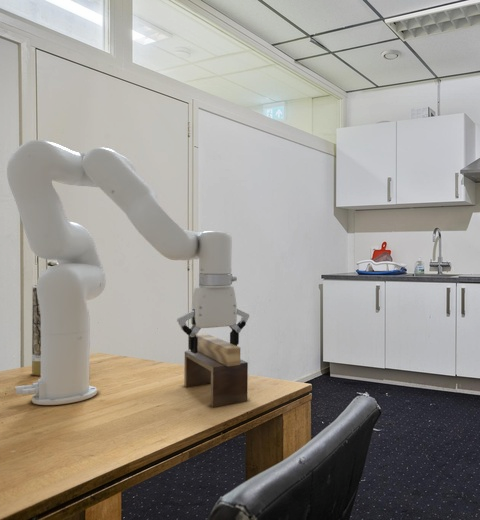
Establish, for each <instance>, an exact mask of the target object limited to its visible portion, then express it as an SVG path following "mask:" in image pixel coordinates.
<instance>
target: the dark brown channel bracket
mask: <svg viewBox="0 0 480 520" xmlns="http://www.w3.org/2000/svg"><path fill="white" fill-rule="evenodd" d="M183 368H184V371H183V373H184V375H183V377H184V379H183V381H184V383H183V384H184V386H185V388H188V387H189V388H190V387H195V386H200V385H206V384H207V385H208V384H210V406H211V407H212V408H217V407H221V406H228V405H232V404H238V403H242V402H247V401H248V382H249V381H248V377H249V375H248V374H249V373H248V371H249V362H248V361H245V360H243V359H241V358H240V365H234V366H226V365H224V364H222V363H220V362H218V361H216V360H214V359H212V358H210V357H208V356H207V355H205V354H203V353H201V352H199V351H198V352H197V353H195V354H194V353H192V352H191V350H184V367H183Z"/></svg>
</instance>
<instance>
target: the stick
mask: <svg viewBox="0 0 480 520" xmlns="http://www.w3.org/2000/svg"><path fill="white" fill-rule="evenodd" d="M196 337H198V351H199V352H201V353H203V354H205V355H207V356H208V357H210V358H212V359H214V360H216V361H218V362H220V363H222V364H224V365H226V366H234V365H240V359H241V347H240V346H238V345H237V346H236V345H233V344H231V343H230V342H228V341H225V340H223V339H221V338H218V337H216V336H214V335H211V334H208V333H205V332H204V333H197V334H196Z"/></svg>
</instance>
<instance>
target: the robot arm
mask: <svg viewBox="0 0 480 520" xmlns="http://www.w3.org/2000/svg"><path fill="white" fill-rule="evenodd" d="M6 166H7V167H6V178H7V182H8V186H9V189H10V191H11V193H12V194H11V195H12V197H13V199H14V201H15V204H16V207H17V210H18V214H19V217H20V221H21V223H22V226H23V229H24V232H25V236H26V239H27V242H28V244H29V247H30V250H31V251H32V252H33V254H34V255H35V256H37V257H38V258H41V259H44V260H48V261H49V260H50V261H51V260H55V261H57V264H55V265H52V266H49V267H48V268H46V269H45V270H43V272H42V273H41V274H40V275H39V277H38V279H37V281H36V285H37V297H38V302H39V307H40V317H41V376H40V378H38V379H37V382H32V384H28V385H18V386H14V387H15V389H14V390H15V392H14V393H15V394H14V395H15V396H18V395H19V396H20V395H21V396H22V397H24V396H28V395H29V396H30V395H32V396H31V402H32V404H34V405H39V406H57V405H58V406H59V405H67V404H73V403H77V402H82V401H86V400H88V399H91V398H93V397H95V396H97V394H98V388H97V387H96V386H93V385H90V367H91V366H90V365H91V364H90V363H91V362H90V358H91V357H90V356H91V355H90V353H91V352H90V350H91V349H90V348H91V345H90V344H91V341H90V340H91V323H90V322H91V319H90V312H89V308H88V304H87V301H90V300H93V299H95V298H97V297H99V296H100V295H101V294H103V291H104V290H105V287H106V284H107V283H106V282H107V279H106V273H105V270H104V267H103V264H102V260H101V258H100V255H99V251H98V248H97V245H96V243H95V240H94V238H93V235H91V233H90V231H89V230H88V229H87V228H86V227H85V226H84V225H81V224H79V223H77V222H73V221H69V219H68V217H67V214H66V212H65V209H64V204H63V201H62V199H61V197H60V195H59V194H58V192H57V190H56V188H55V187H54V185H53V182H56V183H60V184H64V185H68V186H76V187H77V186H78V187H88V188H89V187H90V188H99V189H100V190H101V191H102V192H103V193H104V194H105V195H106V196H107V197H108V198H109V199H110V200H111V201H112V202H113V203H114V204H115V205H116V206H117V207H118V208H119V209H120V210H121V211H122V212H123V213H124V214H125V215H126V217H127V218H128V219H127V220H129V222H130V223H131V224H132V225H133V227H134V228H135V229H136V231H137V232H138V233H139V234H140V235H141V236H142V238H144V239H145V240H146V242H147V243H149V245H151V246H152V247H153V248H154V249H155V250H156V251H157V252H158V253H159V254H160V255H161V256H163V257H164V258H165V259H168V260H171V261H193V260H198V286H195V287H194V290H193V294H192V302H191V310H190V311H189V312H187V313H184V314H183V315H181V316H180V317H178V318H177V319H176V322H177V324H178V325H179V327H180V330H181V331H183V333H185V334H186V335H187V336H188V351H191V352H192V353H194V354H195V353H197V352H198V337H196V334H199V332H200V330H201V329H211V328H212V329H214V328H224V327H225V328H226V327H229V328H230V330H231V331H230V332H229V343H231V344H233V345H236V346H238V345H239V344H240V341H239V340H240V333H241V331H242V329H244V327H246V325H247V322H248V321H249V318H250V314H249V313H247V312H245V311H242V310H241V309H238V308H237V296H236V292H235V287H234V285H233V283H235V282H237V279H238V278H237V276H236V275H233V273H232V257H233V256H232V255H233V254H232V253H233V252H232V251H233V249H232V247H233V244H232V243H233V237H232V235H231V233H230V232H227V231H222V230H206V231H202V232H201V231H193V230H189V229H184V228H182V227H181V226H180V224H178V222H176V220H174V219H173V218H172V217H171V216H170V215H169V214H168V213H167V212H166V211H165V209H164V208H163V207H162V206H161V204H160V203H159V200H158V194H157V192H156V191H155V189H154V188H153V187H151V185H149V184H148V183H147V181H146V180H145V179H143V177H141V175H139V173H137V171H136V167H135V165H134V164H133V162H132V161H131V160H130V159H129V158H128V157H126V156H124V155H123V154H121V153H118V152H117V151H115V150H113V149H111V148H106V147H96V148H92V149H90V150H88V151H87V152H86V153H85V152H77V151H75V150H71V149H69V148H67V147H64V146H62V145H60V144H58V143H55V142H52V141H49V140H44V139H43V140H42V139H33V140H30V141H26V142H24V143H22V144H21V145H19V146H18V147H17V148H16V149H15V150H14V151H13V153H12V154H11V155H10V157H9V160H8V162H7V165H6ZM232 285H233V286H232ZM238 316H239V317H240V321H238ZM189 320H190V324H191V325H192V326H191V327H189V326H188V325H187V323H186V322H187V321H189ZM237 321H238V322H237Z"/></svg>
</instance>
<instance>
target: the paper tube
mask: <svg viewBox="0 0 480 520" xmlns="http://www.w3.org/2000/svg"><path fill="white" fill-rule="evenodd" d="M31 305H32V311H31V312H32V315H31V317H32V318H31V319H32V320H31V321H32V323H31V374H32V375H34V376H37V377H41V317H40V307H39V302H38V297H37V284H33V285H32V304H31Z"/></svg>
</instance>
